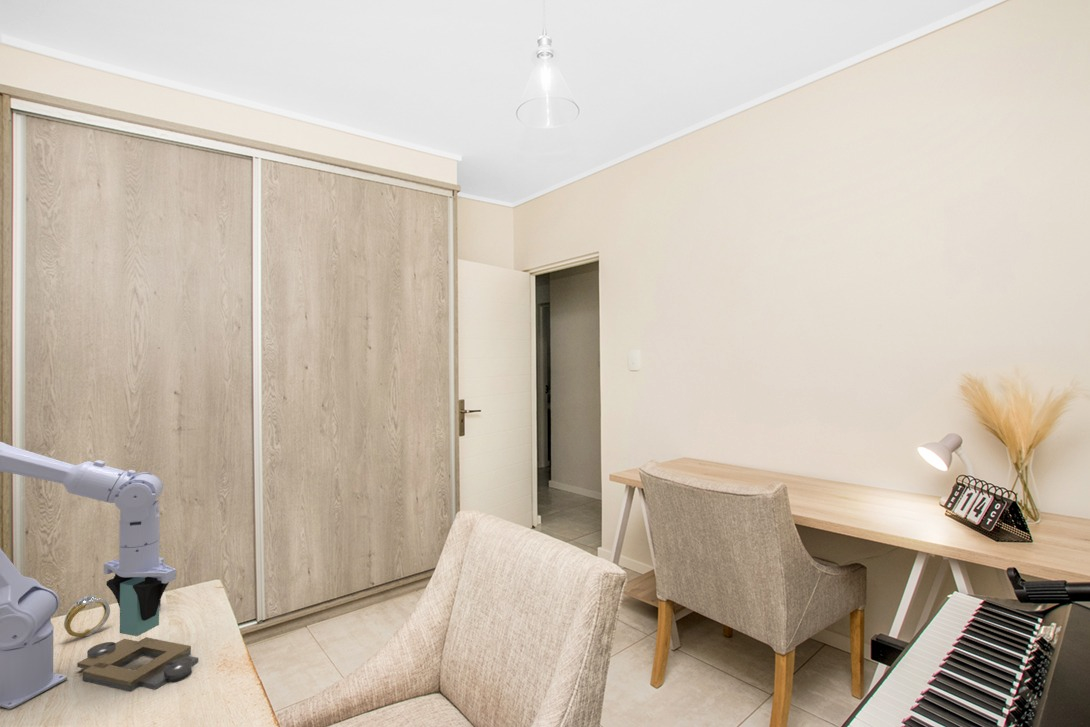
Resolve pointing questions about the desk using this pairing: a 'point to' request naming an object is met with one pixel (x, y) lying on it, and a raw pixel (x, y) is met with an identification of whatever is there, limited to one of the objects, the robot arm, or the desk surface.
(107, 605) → the ring
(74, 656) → the desk surface
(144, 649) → the tan slotted board
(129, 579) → the robot arm
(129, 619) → the teal pin
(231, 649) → the desk surface
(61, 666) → the desk surface
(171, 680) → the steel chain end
